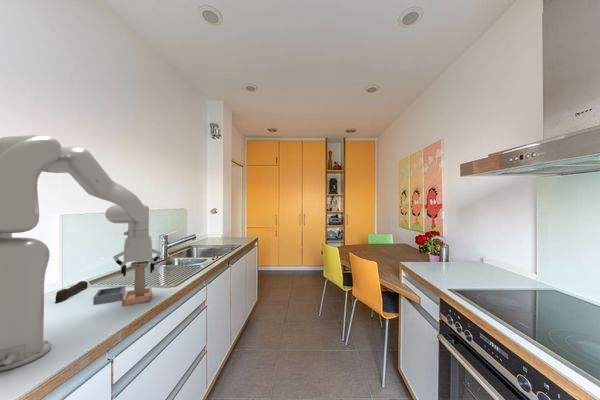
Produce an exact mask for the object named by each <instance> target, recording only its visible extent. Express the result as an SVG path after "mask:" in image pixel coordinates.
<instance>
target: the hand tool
mask: <svg viewBox="0 0 600 400" xmlns="http://www.w3.org/2000/svg"><path fill="white" fill-rule="evenodd" d="M88 285H89V284H88V282H87V281H85V280H82V281H78V282H77V283H76V284H73V285H70V287H68V288H62V289H61V290H58V291H57V292H56V294H55V302H54V303H55V304H58V303H62V302H63V301H65V300H68V299H69V297H71V296H73V295H75V294H76V293H78V292H80V291H82V290H84V289H85V290H86V289H88Z"/></svg>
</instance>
